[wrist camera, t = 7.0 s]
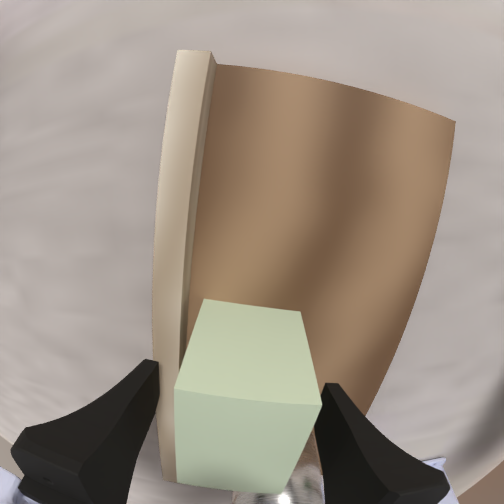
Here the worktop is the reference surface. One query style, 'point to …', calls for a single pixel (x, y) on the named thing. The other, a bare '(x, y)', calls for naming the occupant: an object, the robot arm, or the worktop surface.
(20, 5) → the worktop surface
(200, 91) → the shelf board
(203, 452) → the tea box
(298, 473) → the metal can
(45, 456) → the robot arm
